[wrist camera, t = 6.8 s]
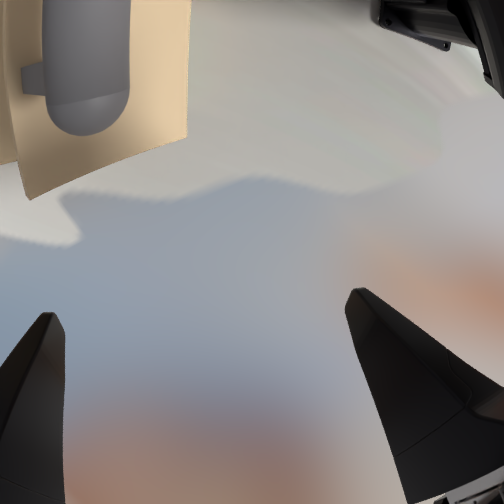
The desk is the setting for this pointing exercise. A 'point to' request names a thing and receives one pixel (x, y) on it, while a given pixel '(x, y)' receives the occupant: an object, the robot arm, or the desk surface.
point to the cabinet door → (92, 83)
